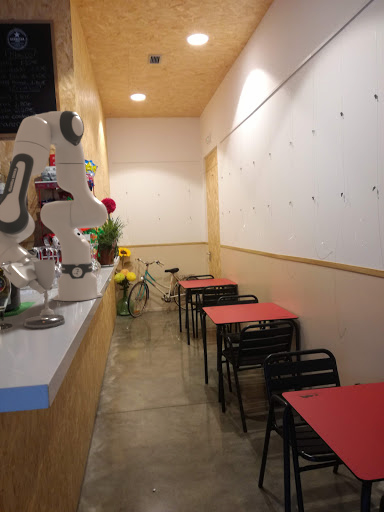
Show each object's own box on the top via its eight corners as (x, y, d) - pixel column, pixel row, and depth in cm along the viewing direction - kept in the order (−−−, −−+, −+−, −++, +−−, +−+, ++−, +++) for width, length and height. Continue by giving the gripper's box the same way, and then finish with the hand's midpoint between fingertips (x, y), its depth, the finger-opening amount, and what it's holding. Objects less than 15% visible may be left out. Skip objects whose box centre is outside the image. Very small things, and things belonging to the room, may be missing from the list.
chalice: (63, 315, 123) (60, 259, 121) (47, 320, 116) (44, 261, 115) (46, 313, 126) (43, 259, 124) (30, 318, 119) (27, 261, 118)
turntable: (26, 321, 115) (26, 316, 115) (65, 318, 118) (64, 312, 118) (22, 330, 105) (22, 324, 104) (64, 326, 108) (64, 320, 108)
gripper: (5, 255, 109) (41, 288, 110) (35, 251, 130) (65, 279, 130) (-9, 271, 110) (26, 304, 110) (23, 264, 130) (53, 292, 131)
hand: (47, 290), depth 120 cm, fingers closed on chalice, 5 cm apart
